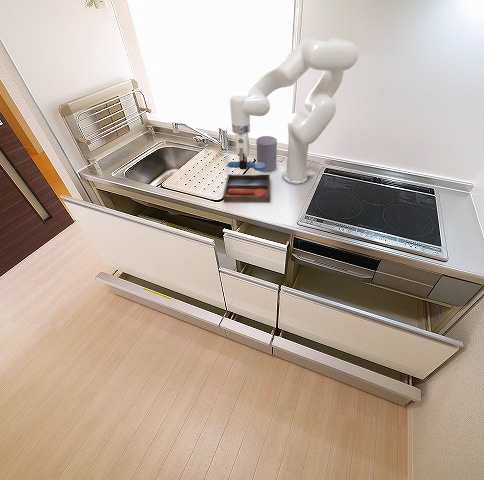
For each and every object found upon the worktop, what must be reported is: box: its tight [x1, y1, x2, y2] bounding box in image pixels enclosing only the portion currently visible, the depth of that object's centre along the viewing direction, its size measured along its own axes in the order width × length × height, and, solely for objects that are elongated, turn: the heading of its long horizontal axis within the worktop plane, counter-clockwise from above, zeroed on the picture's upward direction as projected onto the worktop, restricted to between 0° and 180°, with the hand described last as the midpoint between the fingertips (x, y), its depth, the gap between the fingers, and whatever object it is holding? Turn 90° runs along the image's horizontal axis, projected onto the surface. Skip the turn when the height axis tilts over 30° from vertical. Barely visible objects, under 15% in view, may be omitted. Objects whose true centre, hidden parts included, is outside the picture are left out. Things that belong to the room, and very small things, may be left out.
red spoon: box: [227, 189, 265, 196], centre depth 121 cm, size 18×6×3 cm, turn 91°
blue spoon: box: [227, 160, 265, 172], centre depth 121 cm, size 18×6×3 cm, turn 90°
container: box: [255, 135, 278, 173], centre depth 136 cm, size 10×10×15 cm
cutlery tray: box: [222, 173, 271, 203], centre depth 125 cm, size 21×18×3 cm
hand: (243, 166), depth 121 cm, fingers closed on blue spoon, 2 cm apart
